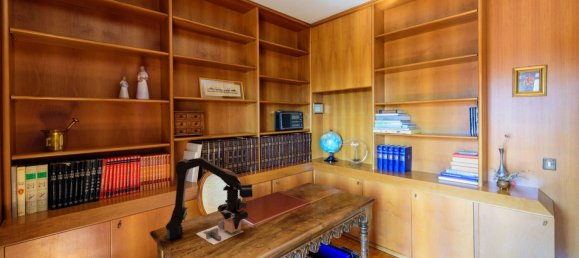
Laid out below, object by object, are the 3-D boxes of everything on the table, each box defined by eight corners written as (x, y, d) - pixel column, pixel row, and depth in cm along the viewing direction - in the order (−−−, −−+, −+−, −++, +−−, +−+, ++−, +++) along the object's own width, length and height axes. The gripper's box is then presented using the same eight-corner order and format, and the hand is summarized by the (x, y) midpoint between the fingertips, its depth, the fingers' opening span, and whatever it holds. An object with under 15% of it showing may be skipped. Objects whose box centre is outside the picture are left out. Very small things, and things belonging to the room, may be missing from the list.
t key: (206, 237, 128) (206, 231, 127) (216, 233, 132) (216, 227, 132) (214, 243, 123) (214, 236, 122) (225, 238, 127) (225, 232, 127)
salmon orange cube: (231, 233, 131) (231, 223, 130) (224, 229, 134) (224, 220, 134) (240, 229, 135) (240, 219, 135) (233, 225, 139) (233, 216, 139)
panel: (213, 247, 122) (213, 238, 121) (195, 235, 132) (195, 227, 132) (243, 233, 135) (243, 225, 135) (225, 224, 146) (225, 217, 145)
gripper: (256, 198, 134) (256, 227, 135) (234, 190, 146) (234, 217, 147) (239, 204, 125) (239, 235, 126) (217, 195, 137) (217, 223, 138)
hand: (232, 227), depth 135 cm, fingers closed on salmon orange cube, 6 cm apart
